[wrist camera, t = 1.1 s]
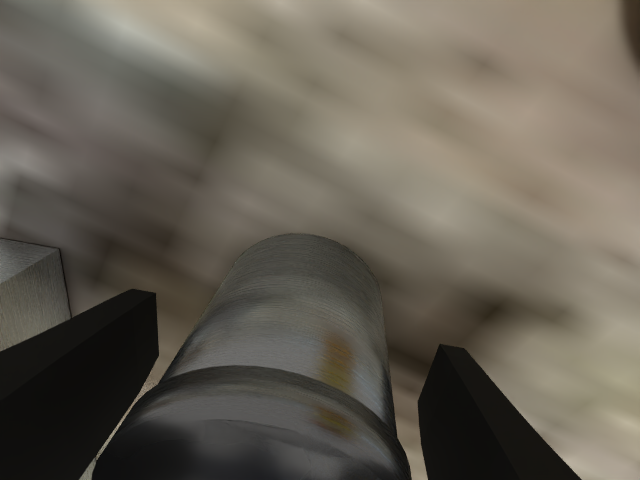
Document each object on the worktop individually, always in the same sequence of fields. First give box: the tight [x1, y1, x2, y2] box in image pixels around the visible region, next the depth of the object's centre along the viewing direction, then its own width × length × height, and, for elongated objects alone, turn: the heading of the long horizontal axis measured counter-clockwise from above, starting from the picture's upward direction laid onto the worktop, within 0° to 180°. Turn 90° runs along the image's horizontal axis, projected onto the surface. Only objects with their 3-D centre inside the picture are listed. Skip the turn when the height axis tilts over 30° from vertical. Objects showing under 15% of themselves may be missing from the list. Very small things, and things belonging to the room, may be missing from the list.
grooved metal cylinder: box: [91, 234, 412, 480], centre depth 8 cm, size 5×5×6 cm
